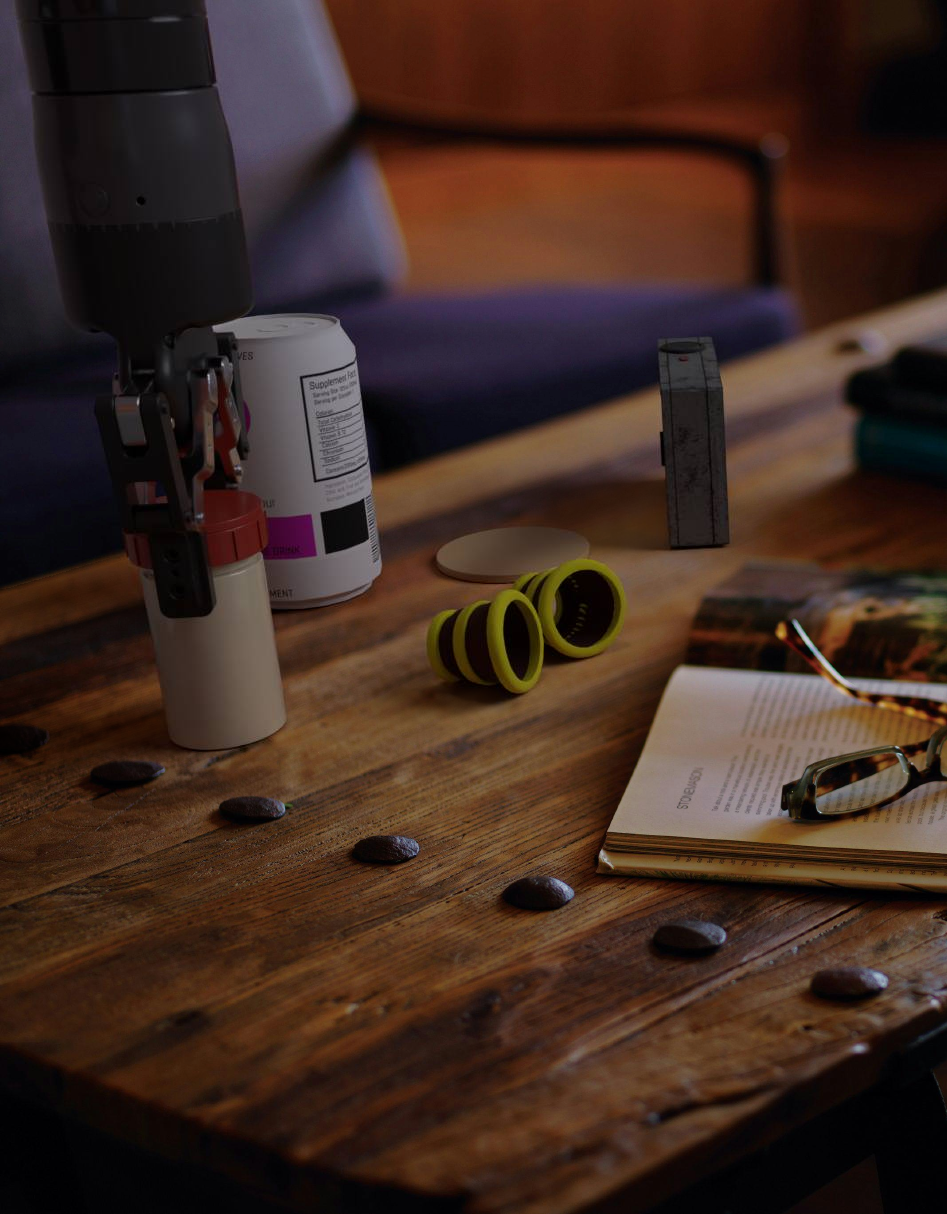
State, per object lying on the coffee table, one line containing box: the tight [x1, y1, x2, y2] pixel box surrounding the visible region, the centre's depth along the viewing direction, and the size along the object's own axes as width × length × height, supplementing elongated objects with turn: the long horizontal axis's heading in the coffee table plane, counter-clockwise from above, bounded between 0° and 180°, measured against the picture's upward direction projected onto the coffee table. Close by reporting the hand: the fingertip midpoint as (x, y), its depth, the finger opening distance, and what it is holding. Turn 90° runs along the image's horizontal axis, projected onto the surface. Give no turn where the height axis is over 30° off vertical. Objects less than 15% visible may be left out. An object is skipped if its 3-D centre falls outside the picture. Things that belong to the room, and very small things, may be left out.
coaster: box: [435, 526, 591, 584], centre depth 97 cm, size 9×9×1 cm
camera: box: [657, 336, 731, 548], centre depth 104 cm, size 16×4×10 cm, turn 6°
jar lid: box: [121, 490, 270, 570], centre depth 72 cm, size 6×6×2 cm
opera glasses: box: [426, 558, 627, 694], centre depth 80 cm, size 10×5×5 cm, turn 148°
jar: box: [139, 552, 288, 751], centre depth 73 cm, size 5×5×10 cm
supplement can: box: [212, 312, 383, 610], centre depth 90 cm, size 8×8×15 cm
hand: (207, 588), depth 73 cm, fingers closed on jar lid, 6 cm apart
